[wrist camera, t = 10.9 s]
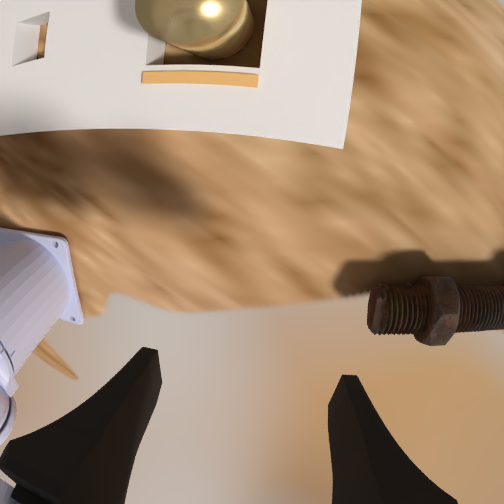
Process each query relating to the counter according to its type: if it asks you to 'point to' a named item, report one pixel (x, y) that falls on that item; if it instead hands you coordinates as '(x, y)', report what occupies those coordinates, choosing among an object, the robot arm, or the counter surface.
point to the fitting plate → (176, 73)
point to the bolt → (435, 309)
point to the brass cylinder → (198, 24)
